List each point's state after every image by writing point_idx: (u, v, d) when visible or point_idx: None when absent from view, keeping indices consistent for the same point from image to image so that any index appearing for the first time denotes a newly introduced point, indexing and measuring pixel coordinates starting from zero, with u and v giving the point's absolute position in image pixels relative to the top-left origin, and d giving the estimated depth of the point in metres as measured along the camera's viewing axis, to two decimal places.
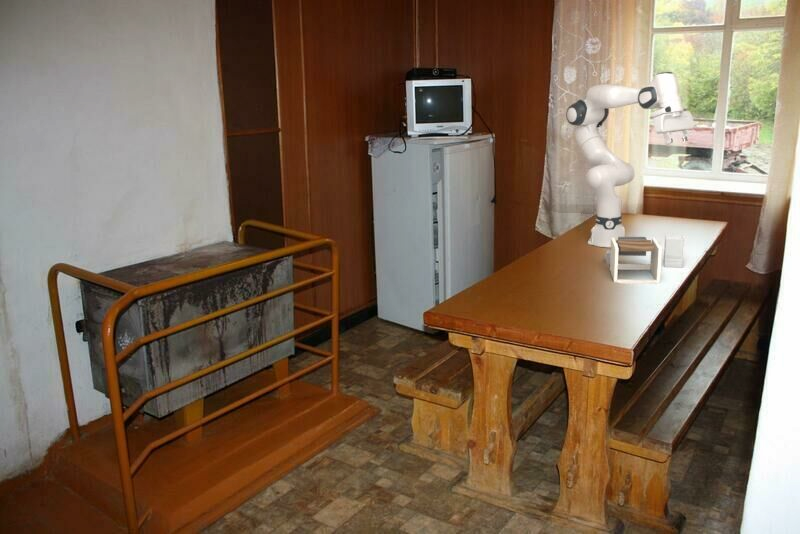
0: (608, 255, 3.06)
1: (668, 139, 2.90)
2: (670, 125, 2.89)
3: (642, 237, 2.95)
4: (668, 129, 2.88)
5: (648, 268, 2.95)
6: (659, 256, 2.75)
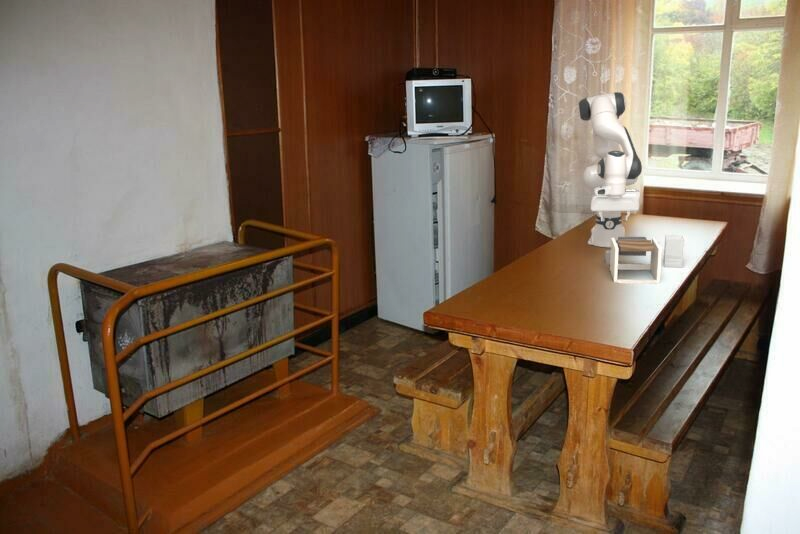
0: (608, 255, 3.06)
1: (600, 217, 3.03)
2: (603, 206, 3.00)
3: (642, 237, 2.95)
4: (599, 209, 3.01)
5: (648, 268, 2.95)
6: (659, 256, 2.75)
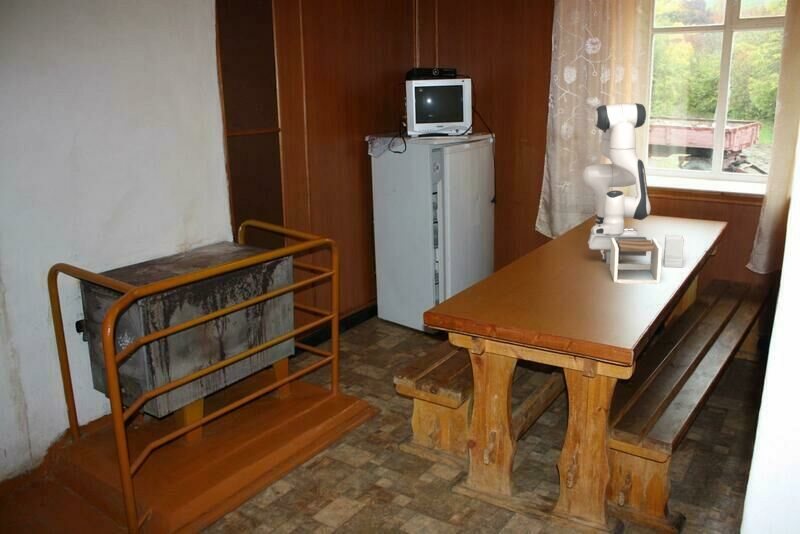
0: (608, 255, 3.05)
1: None
2: (601, 244, 3.05)
3: (642, 237, 2.95)
4: (598, 248, 3.06)
5: (648, 268, 2.95)
6: (659, 256, 2.75)
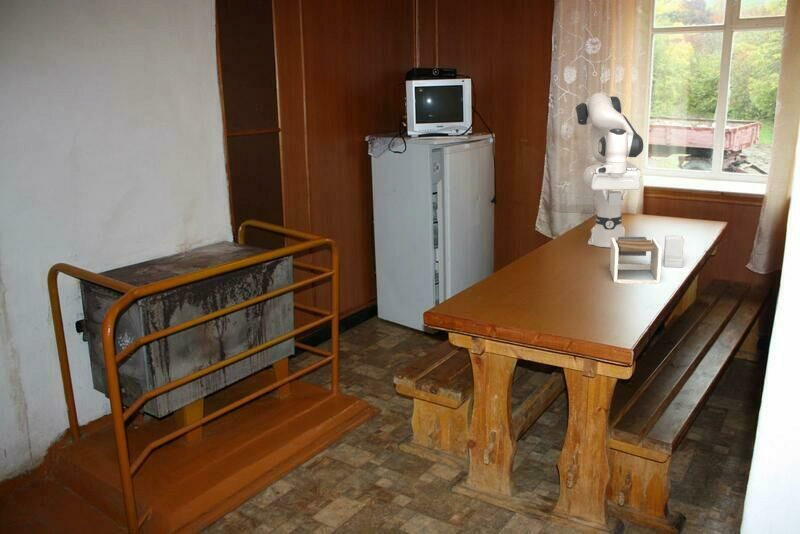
0: (610, 195, 2.98)
1: (604, 196, 3.01)
2: (604, 185, 2.98)
3: (642, 237, 2.95)
4: (600, 188, 2.99)
5: (648, 268, 2.95)
6: (659, 256, 2.75)
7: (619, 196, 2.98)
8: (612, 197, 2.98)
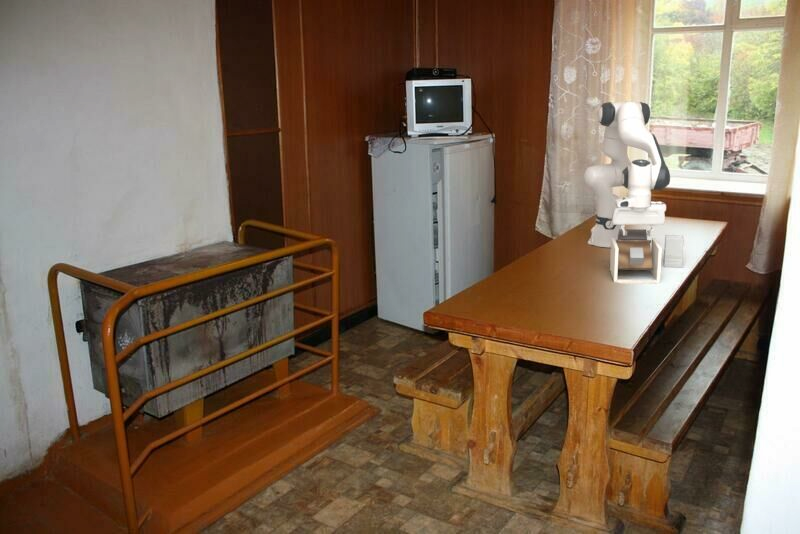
0: (632, 259, 2.81)
1: (623, 231, 2.81)
2: (626, 219, 2.78)
3: (643, 231, 2.93)
4: (622, 223, 2.79)
5: None
6: (659, 256, 2.75)
7: (641, 259, 2.81)
8: (633, 260, 2.81)
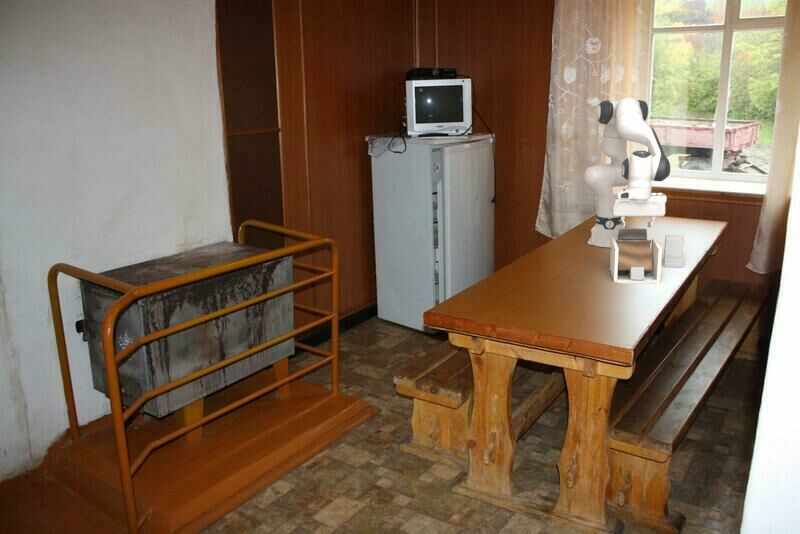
0: None
1: (623, 223, 2.80)
2: (626, 211, 2.77)
3: (643, 231, 2.92)
4: (622, 214, 2.78)
5: None
6: (659, 256, 2.75)
7: None
8: None
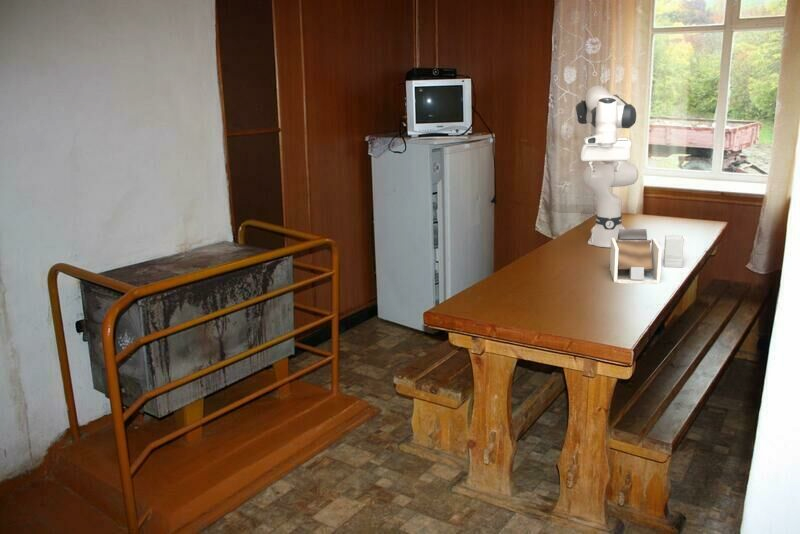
0: None
1: (591, 168, 2.95)
2: (593, 156, 2.92)
3: (643, 231, 2.93)
4: (589, 159, 2.92)
5: None
6: (659, 256, 2.75)
7: None
8: None
